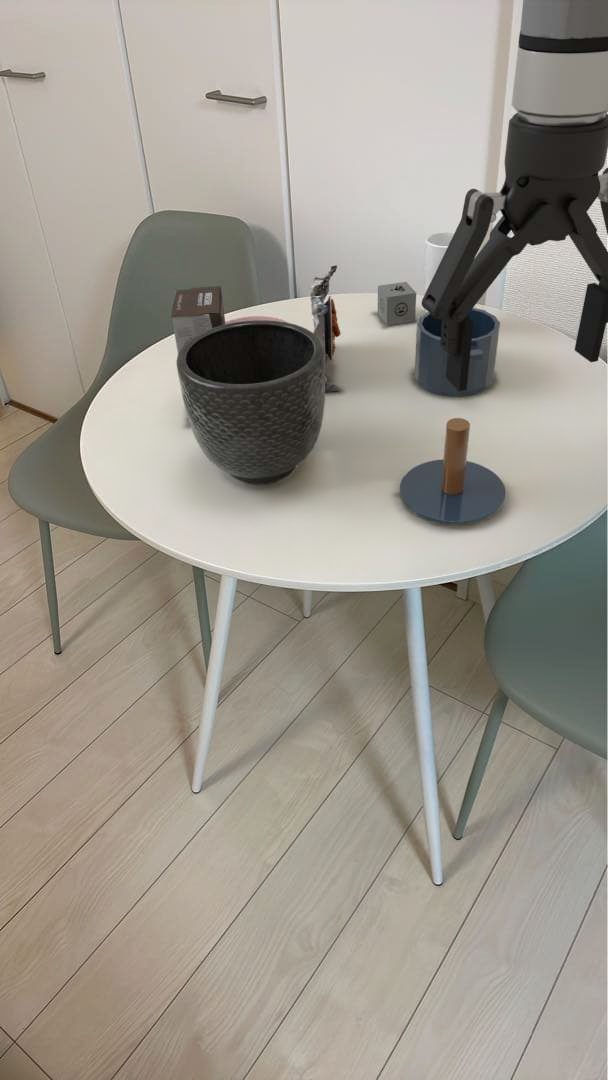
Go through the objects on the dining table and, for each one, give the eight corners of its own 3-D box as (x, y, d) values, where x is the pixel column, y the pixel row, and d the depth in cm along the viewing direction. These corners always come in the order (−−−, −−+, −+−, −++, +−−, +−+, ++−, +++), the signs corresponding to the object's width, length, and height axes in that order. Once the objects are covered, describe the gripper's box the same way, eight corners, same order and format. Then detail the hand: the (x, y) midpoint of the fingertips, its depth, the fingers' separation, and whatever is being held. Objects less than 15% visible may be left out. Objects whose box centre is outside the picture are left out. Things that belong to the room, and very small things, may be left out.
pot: (474, 347, 119) (480, 295, 113) (509, 401, 106) (517, 345, 100) (403, 355, 118) (405, 303, 112) (430, 410, 105) (433, 354, 100)
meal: (343, 391, 110) (341, 306, 102) (314, 392, 111) (310, 307, 102) (339, 345, 122) (337, 264, 113) (312, 346, 122) (309, 266, 113)
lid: (486, 461, 95) (495, 390, 89) (519, 522, 86) (532, 448, 79) (390, 472, 95) (391, 401, 88) (412, 535, 85) (416, 461, 79)
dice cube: (415, 321, 127) (416, 292, 124) (386, 326, 126) (387, 297, 123) (405, 309, 131) (406, 281, 127) (377, 314, 130) (377, 285, 127)
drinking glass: (441, 345, 120) (448, 250, 110) (411, 332, 124) (415, 239, 114) (470, 331, 123) (480, 238, 113) (440, 319, 127) (446, 228, 117)
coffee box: (234, 421, 106) (220, 312, 95) (189, 425, 106) (170, 317, 95) (234, 389, 113) (221, 284, 102) (191, 392, 113) (174, 288, 102)
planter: (186, 443, 102) (165, 333, 92) (307, 418, 105) (301, 309, 95) (209, 518, 90) (188, 400, 79) (346, 488, 93) (344, 371, 82)
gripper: (669, 85, 62) (613, 328, 75) (387, 123, 56) (382, 377, 70) (736, 101, 56) (662, 361, 70) (430, 146, 51) (416, 416, 65)
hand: (522, 369), depth 70 cm, fingers open, 13 cm apart
